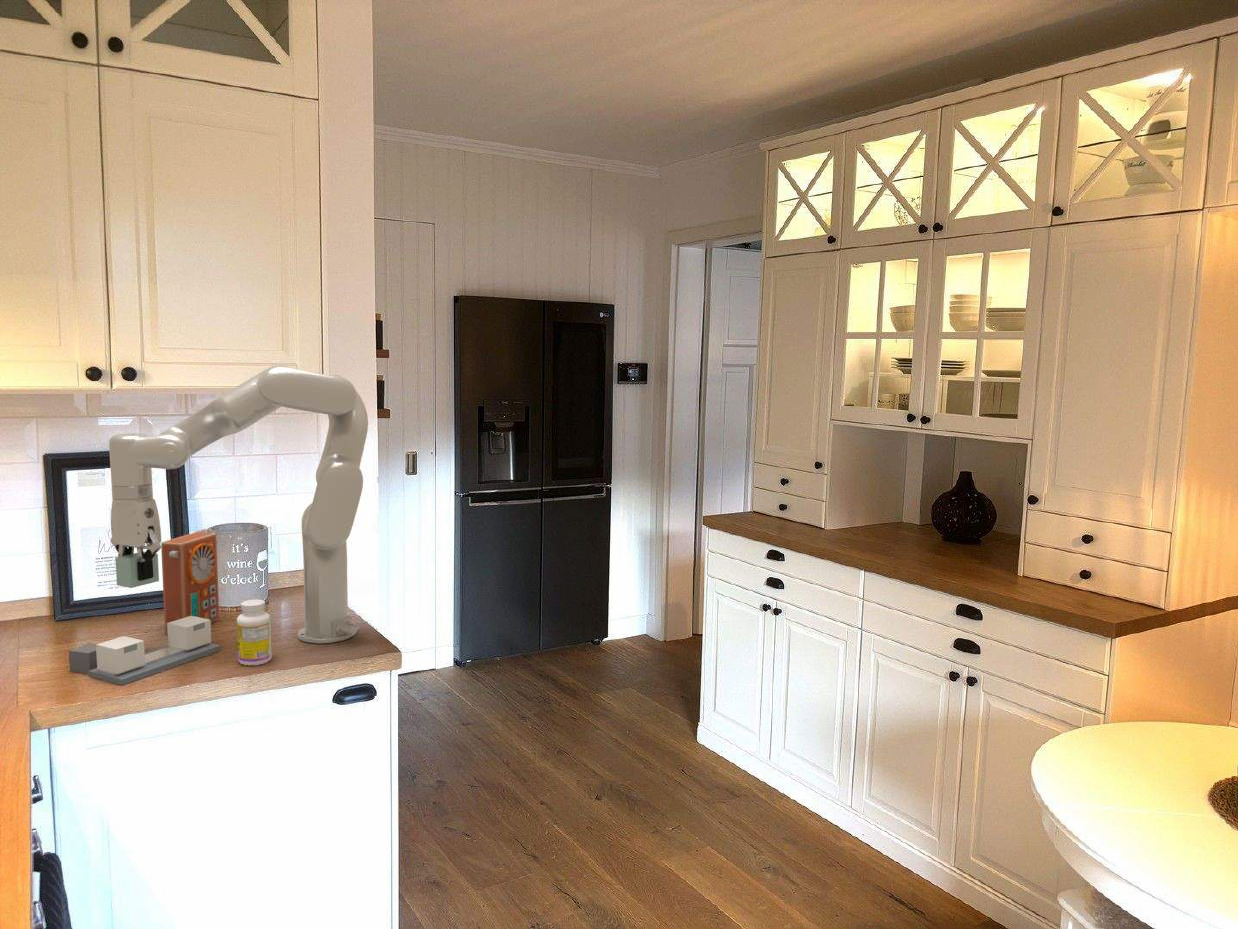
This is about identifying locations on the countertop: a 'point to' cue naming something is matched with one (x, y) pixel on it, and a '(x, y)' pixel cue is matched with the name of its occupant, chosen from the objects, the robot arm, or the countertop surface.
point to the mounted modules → (131, 651)
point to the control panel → (190, 577)
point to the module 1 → (83, 658)
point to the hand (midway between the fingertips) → (137, 576)
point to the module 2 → (133, 571)
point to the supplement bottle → (254, 633)
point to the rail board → (155, 665)
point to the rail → (157, 657)
